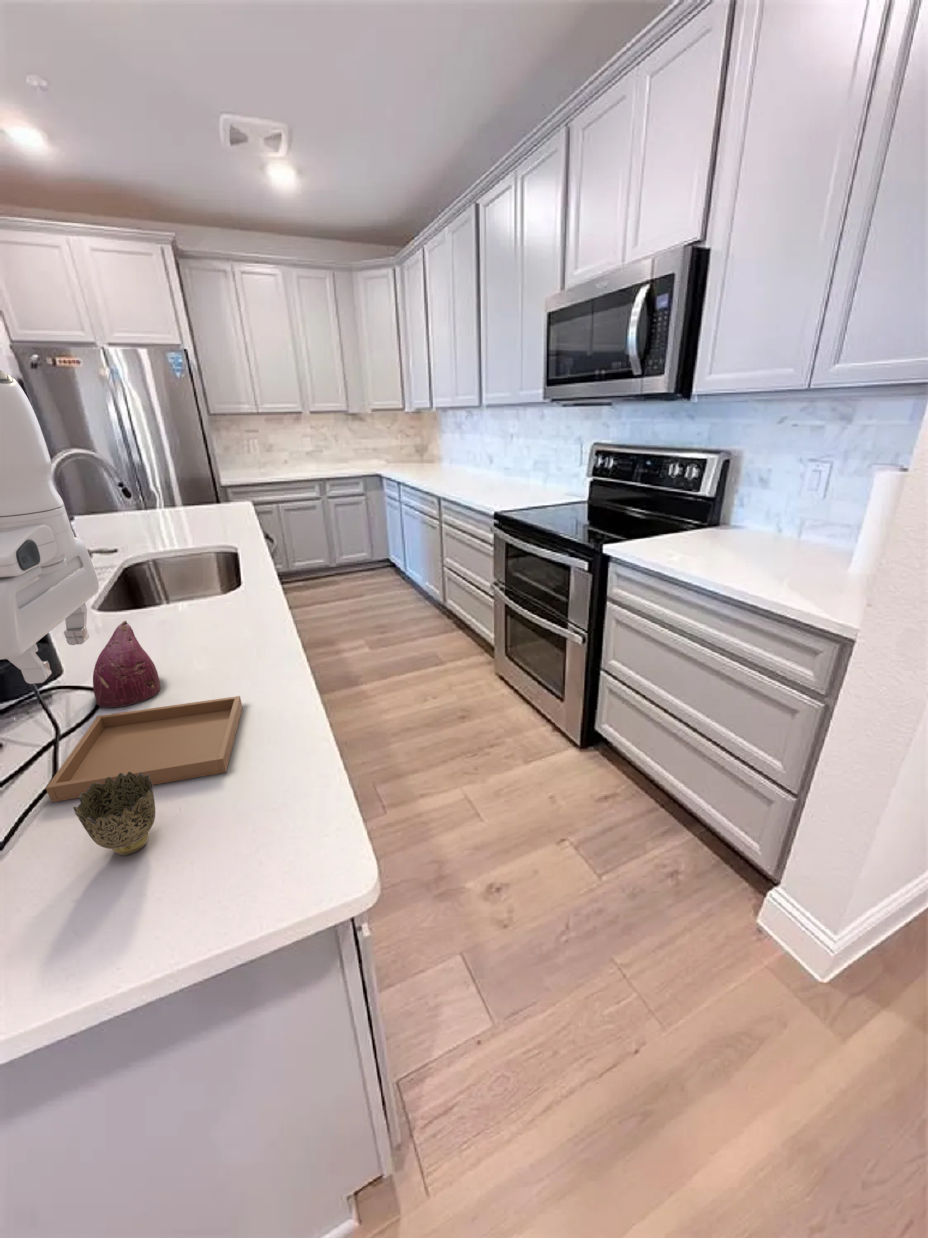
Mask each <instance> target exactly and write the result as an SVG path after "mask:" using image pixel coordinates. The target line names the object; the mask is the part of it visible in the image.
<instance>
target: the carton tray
mask: <svg viewBox="0 0 928 1238" xmlns="http://www.w3.org/2000/svg"><path fill="white" fill-rule="evenodd" d="M242 712H243V703H242V699H241V695H237V696H236V695H235V696H229V697H223V698H215V699H208V700H207V699H206V700H201V701H195V702H194V701H193V702H188V703H179V704H171V705H166V706H158V707H152V708H144V709H137V710H129V711H122V712H116V713H115V712H114V713H107V714H101V715H96V717H95V719H94V720H93V722H92V723H91V725H90V726H89V727H88V728H87V730H86V732H85V733H84V734H83V736H82V737H81V739H80V740H79V741H78V742H77V744H76V745H75V747H74V748H73V750H72V751H71V752H70V754H69V755H68V757H66V759H65V761H64V762H63V763H62V765H61V766H60V767H59V769H58V771H56V773H55V775H54V776H53V777H52V779H51V780H50V782H49V783H48V784H47V785H46V787H45V790H46V793H47V794H48V797H49V799H50V802H51V803H55V802H57V803H58V802H62V801H69V800H73V799H79V795H80V793H82V792H85V793H86V792H87V790H88V789H89V787H90V786H91V784H93V783H100V784H104V783H106V782H105V780H106V779H107V778H108V777H111V779H112V780H113V781H114V782H116V778H117V776H118V775H119V774H120V773H123V774H125V775H127V773H128V772H131V773H133V774H134V775H136V777H137V776H138V774H139V773H140V772H141V773H142V774H143V776H146V775H149V776H150V779H151V781H152V786H155V785H161V784H166V783H172V782H177V781H183V780H190V779H195V778H201V777H208V776H213V775H219V774H225V773H227V771H228V767H229V764H230V763H229V762H230V759H231V755H232V751H233V747H234V743H235V739H236V736H237V731H238V727H239V724H240V719H241V715H242Z"/></svg>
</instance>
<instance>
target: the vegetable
mask: <svg viewBox="0 0 928 1238" xmlns="http://www.w3.org/2000/svg"><path fill="white" fill-rule="evenodd" d="M159 676H160V675H159V673H158V669H157V667H156V665H155V663H154V661H153V659H152V658H151V656H150V655H148V653H147V651H145V649H144V648H143V647H142V646H141V644H140V642H139V641H138V639H137V637H136V635H135V633H134V630H133V628H132V626H131V625H130V624H129V622H128V621H127V620H123V621H122V622H121V623H120V624H119V625H118V626H117V627H116V628H115V629H114V631H113V633H112V635H111V637H110V638H109V640H108V642H107V643H106V645H105V646H104V647H103V649H102V650H101V652H99V655H98V657H97V660H96V661H95V665H94V668H93V674H92V689H93V694H94V699H95V702H96V705H97V706H98V707H100V708H120V707H127V706H131V705H135V704H138V703H141V702H144V701H147V700H149V699H151V698H153V697H154V696H156V695H158V694H159V692H160V691H161V682H160V677H159Z"/></svg>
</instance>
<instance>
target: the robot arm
mask: <svg viewBox="0 0 928 1238" xmlns="http://www.w3.org/2000/svg"><path fill="white" fill-rule="evenodd" d="M53 482H54V481H53V479H52V460H51V456H50V453H49V449H48V444H47V441H46V440H45V436H44V434H43V431H42V428H41V425H40V422H39V420H38V417H37V416H36V413H35V410H34V408H33V406H32V404H31V402H30V400H29V398H28V396H27V395H26V393H25V391H24V389H23V388H22V386H21V384H19V382H18V381H17V380H16V378H14V377H13V376H12V375H10V374H8V373H6V372H4V371H3V370H0V660H1V661H2V660H8V661H9V663H11V664H12V665H14V667H16V668H17V669H18V670H20V671H21V674H22V676H23V680H24V681H25V683H26V684H29V685H32V684H42V683H44V682H45V681H47V680H48V678H49V677H51V676H52V672H53V671H52V670H51V666H50V663H49V661H48V660H42V659H41V658H40V657H39V655H38V654H37V652H38V651H39V647H38V644H37V643H38V642H39V641H40V640H41V639H43V638H44V637H45V636H46V635H48V634H49V633H50V632H51V631H53V630H54V629H55V628H56V627H57V626H58V625H60V624H61V623H62V622H64V621H65V628H66V629H65V630H64V631H63V635H64V637H65V638H66V643H67V644H68V645H69V646H76V645H83V644H84V643H85V642H86V641H87V640H88V639H89V638H90V633H89V631H88V627H87V620H88V619H87V618H88V608H87V604H86V602H88V601H89V600H91V598H93V597H94V596H96V595H97V593H99V589H100V588H99V586H100V584H99V583H100V582H99V579H98V575H97V572H96V569H95V566H94V563H93V561H92V558H91V556H90V554H89V551H88V549H87V547H86V545H85V543H84V541H83V540H82V539H81V538H79V537H75V533H74V531H73V530H72V526H71V521H70V520H69V516H68V513H67V510H66V506H65V503H64V500H63V499H62V497H61V496H60V494H59V492H58V490H57V489H56V487H55V485H54V483H53Z"/></svg>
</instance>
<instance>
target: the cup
mask: <svg viewBox="0 0 928 1238" xmlns="http://www.w3.org/2000/svg"><path fill="white" fill-rule="evenodd" d="M105 782H106V783H104V784H100V783H93V784H91V786H90V787H89V789H88V790H87V792H86V793H85V792H82V793H80V795H79V798H78V799H79V800H80V801H79V802H80V804H78V805H77V806H76V805H73V811H74V813H75V816H76V817H77V818H78V820H79V822H80V823H81V825H82V827H83V828H84V830H85V831H86V833H87V834H88V836H89V837H90V838H91V839H92V841H93V842H94V843H95V844H97V845H98V846H99V847H102V848H104V849H110V850H112V851H113V852H114V853H115V854H116V855H119V856H128V855H131V854H134V853H136V852H138V851H139V850H141V849H143V847H144V846H145V845H146V844H147V842H148V839H149V832H150V831H151V829H152V828H153V825H154V823H155V819H156V804H155V801H156V800H155V795H154V788H153V785H152V781H151V779H150V776H149V775H146V776H143V774H142V773H141V772H140V773H139V774H138V776H137V777H136V775H134V774H133V773H131V772H128V773H127V775H125V774H123V773H120V774H119V775H118V776H117V778H116V782H114V781H113V780H112V779H111V777H108V778H107V779H106V780H105Z"/></svg>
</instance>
